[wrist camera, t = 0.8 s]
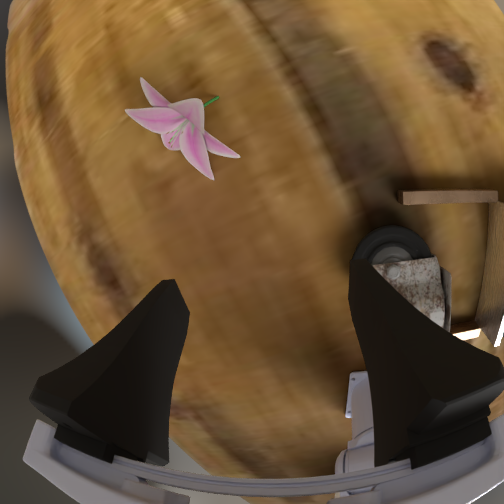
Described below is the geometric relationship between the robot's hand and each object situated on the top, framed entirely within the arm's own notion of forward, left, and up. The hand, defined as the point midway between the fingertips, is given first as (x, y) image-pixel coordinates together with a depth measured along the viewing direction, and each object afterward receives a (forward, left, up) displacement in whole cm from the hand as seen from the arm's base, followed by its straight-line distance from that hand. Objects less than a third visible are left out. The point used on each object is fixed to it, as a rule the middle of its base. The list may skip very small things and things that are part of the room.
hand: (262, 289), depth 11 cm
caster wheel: (-7, -10, -17) cm, 21 cm away
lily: (+10, +9, -17) cm, 22 cm away
